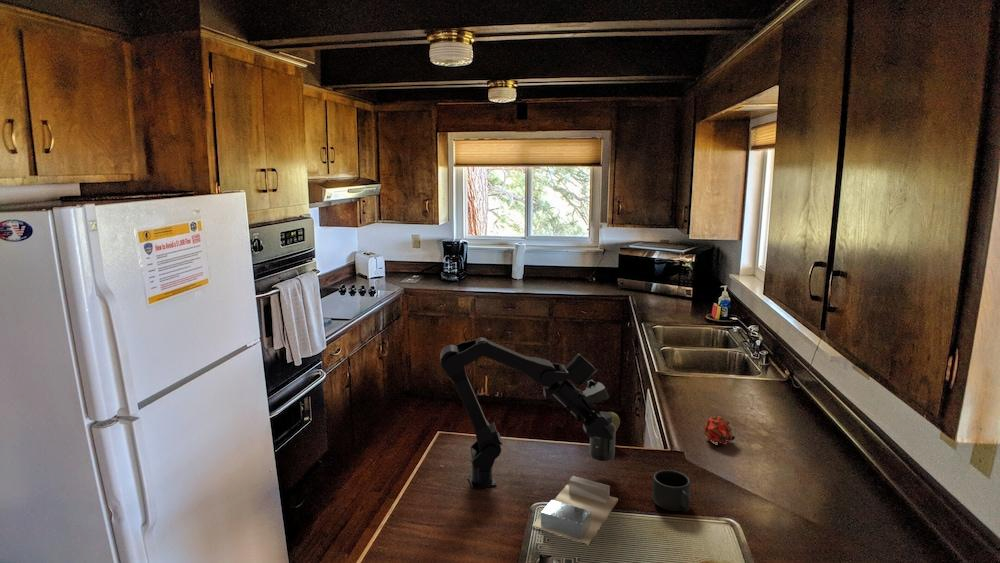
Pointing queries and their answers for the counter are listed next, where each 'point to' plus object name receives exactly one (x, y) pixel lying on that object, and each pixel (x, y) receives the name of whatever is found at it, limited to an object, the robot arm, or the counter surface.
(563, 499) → the vise
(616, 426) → the light bulb
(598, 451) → the supplement bottle
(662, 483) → the mug
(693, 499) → the counter surface
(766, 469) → the counter surface
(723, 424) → the dragon fruit
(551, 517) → the sliding jaw
